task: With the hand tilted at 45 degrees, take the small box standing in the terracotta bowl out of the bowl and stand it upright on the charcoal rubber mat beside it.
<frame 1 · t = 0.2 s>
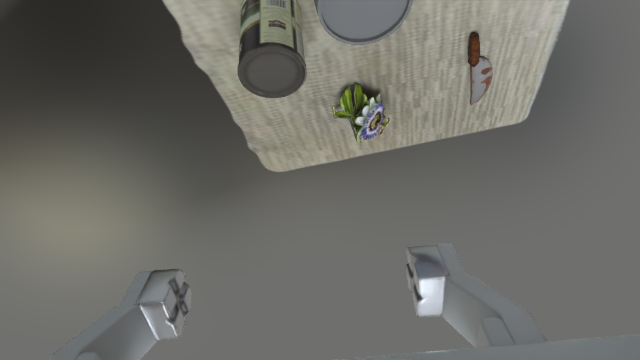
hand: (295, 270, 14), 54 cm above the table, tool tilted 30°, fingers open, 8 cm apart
coffee can: (271, 15, 65), on the table
kitchen knife: (479, 67, 80), on the table
passion flower: (358, 100, 85), on the table
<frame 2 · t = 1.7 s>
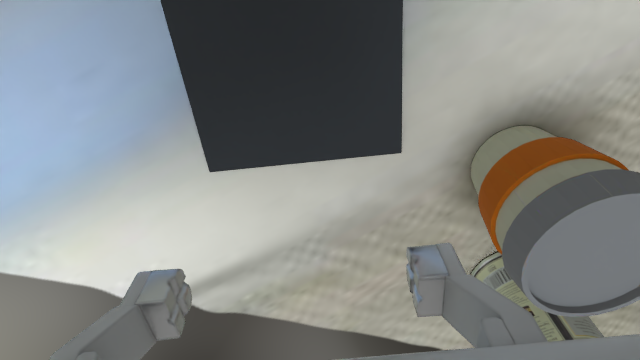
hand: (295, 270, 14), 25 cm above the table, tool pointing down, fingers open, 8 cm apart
reusable coffee cup: (511, 163, 41), on the table
coffee can: (507, 276, 50), on the table
mat: (291, 64, 35), on the table
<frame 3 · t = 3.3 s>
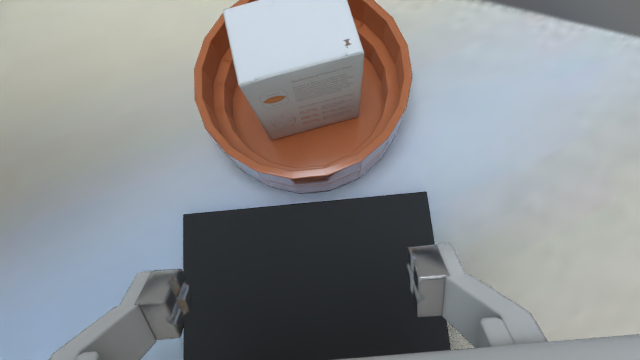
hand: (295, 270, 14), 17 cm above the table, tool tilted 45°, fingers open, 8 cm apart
bowl: (307, 103, 34), on the table
mat: (313, 332, 30), on the table
small box: (307, 102, 34), resting on bowl
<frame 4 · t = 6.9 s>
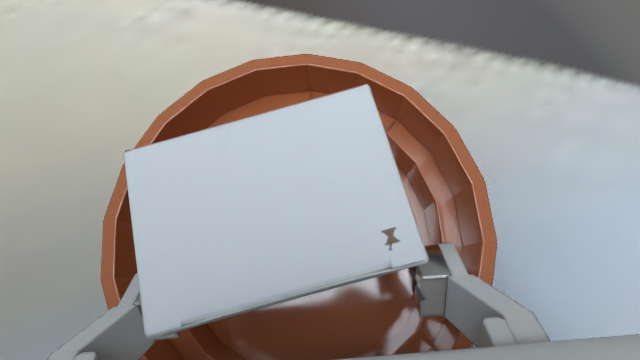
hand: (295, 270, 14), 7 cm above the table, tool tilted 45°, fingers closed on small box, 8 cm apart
bowl: (305, 241, 21), on the table
small box: (305, 241, 21), resting on bowl, touching gripper
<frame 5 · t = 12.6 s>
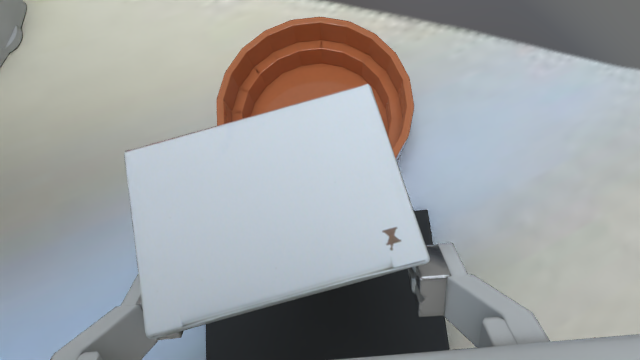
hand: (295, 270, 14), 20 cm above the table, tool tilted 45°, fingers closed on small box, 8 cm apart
bowl: (317, 127, 37), on the table
tall pale column: (5, 39, 42), on the table
mat: (325, 339, 32), on the table
small box: (305, 241, 21), point 14 cm above the table, touching gripper
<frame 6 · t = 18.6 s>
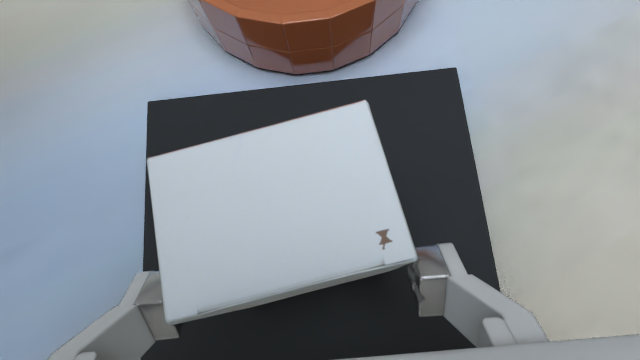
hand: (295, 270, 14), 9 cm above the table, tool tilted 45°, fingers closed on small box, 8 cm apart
mat: (312, 241, 23), on the table
small box: (308, 242, 22), resting on mat, touching gripper
when the fingers open (9 cm above the table, at t = 18.6 s): small box stays where it is, resting on mat.
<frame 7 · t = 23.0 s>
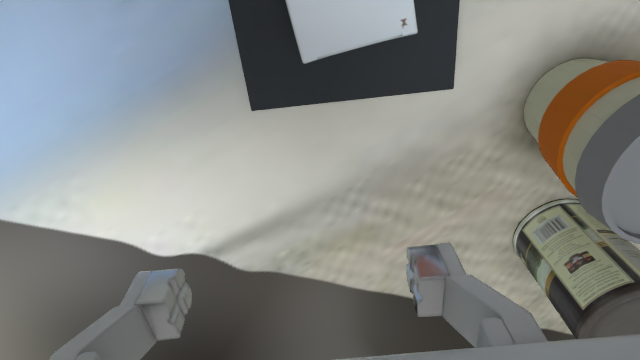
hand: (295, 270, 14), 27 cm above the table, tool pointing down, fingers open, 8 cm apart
reusable coffee cup: (567, 102, 39), on the table
coffee can: (554, 231, 48), on the table
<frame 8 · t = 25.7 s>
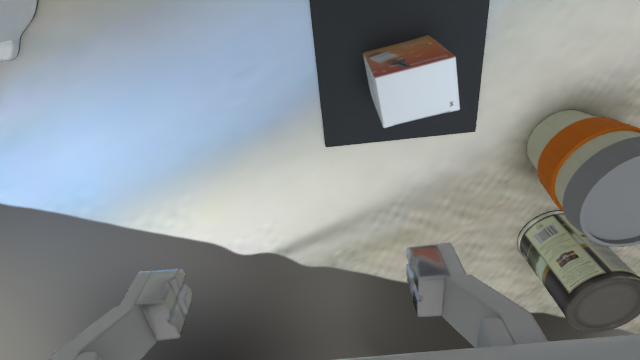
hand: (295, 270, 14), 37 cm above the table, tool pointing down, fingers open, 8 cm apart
reusable coffee cup: (559, 140, 53), on the table
coffee can: (549, 235, 61), on the table
mat: (399, 63, 47), on the table
small box: (397, 65, 47), resting on mat
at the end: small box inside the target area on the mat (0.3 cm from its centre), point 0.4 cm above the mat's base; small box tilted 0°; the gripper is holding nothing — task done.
